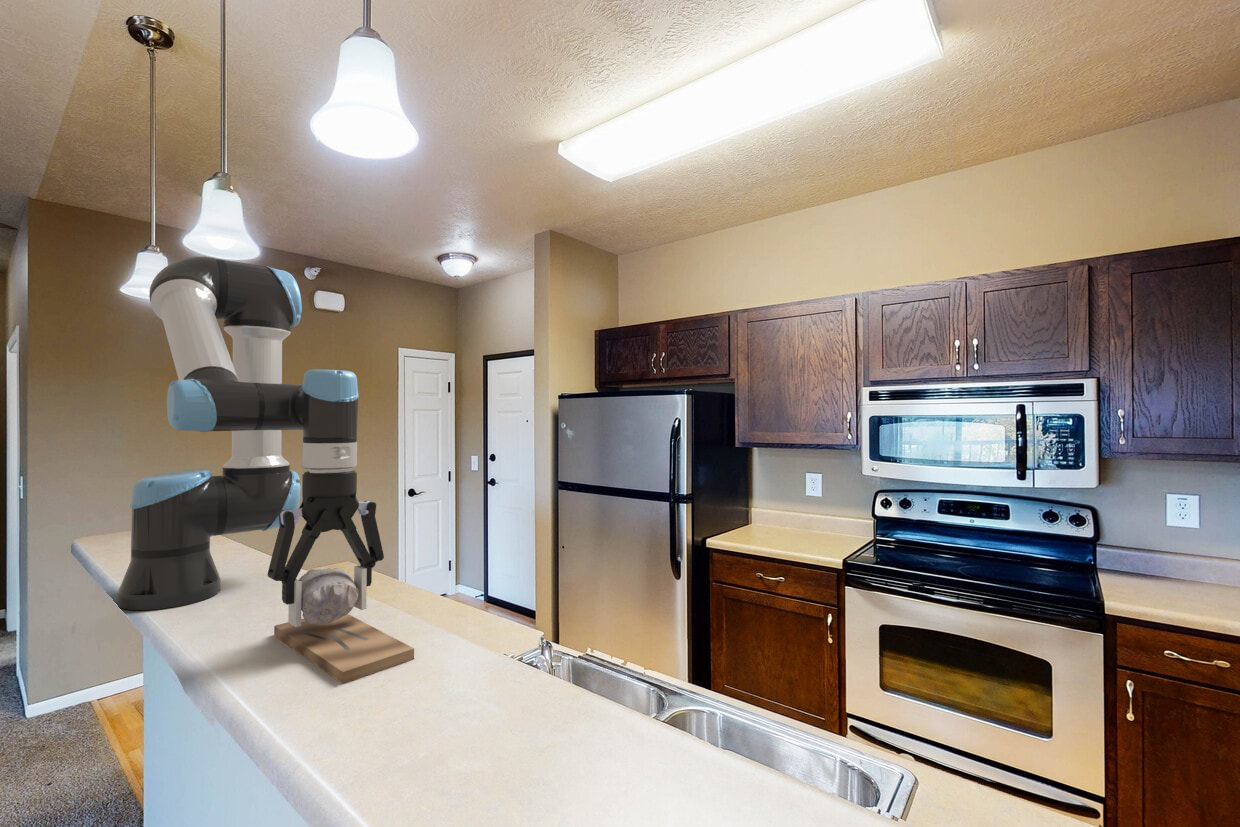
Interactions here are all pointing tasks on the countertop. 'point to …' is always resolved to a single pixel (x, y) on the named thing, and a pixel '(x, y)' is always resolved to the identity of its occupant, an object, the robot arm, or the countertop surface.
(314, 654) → the board
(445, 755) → the countertop surface
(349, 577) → the stone
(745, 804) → the countertop surface
